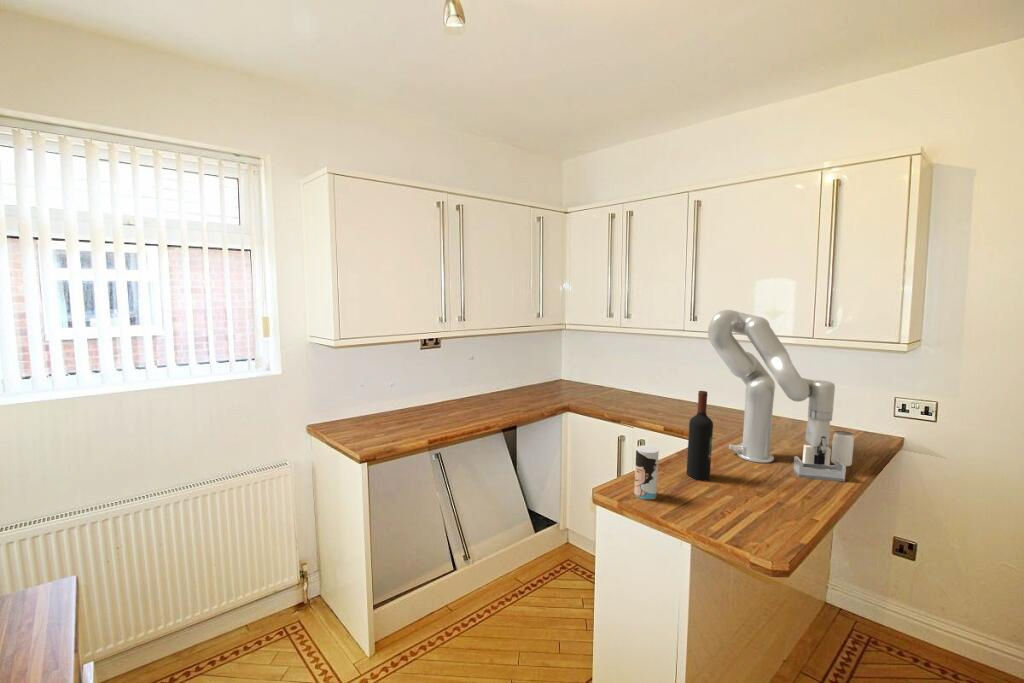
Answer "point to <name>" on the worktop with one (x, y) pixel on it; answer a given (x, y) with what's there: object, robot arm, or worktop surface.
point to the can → (842, 447)
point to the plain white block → (811, 451)
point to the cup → (646, 472)
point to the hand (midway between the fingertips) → (815, 462)
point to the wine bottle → (700, 442)
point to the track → (820, 470)
